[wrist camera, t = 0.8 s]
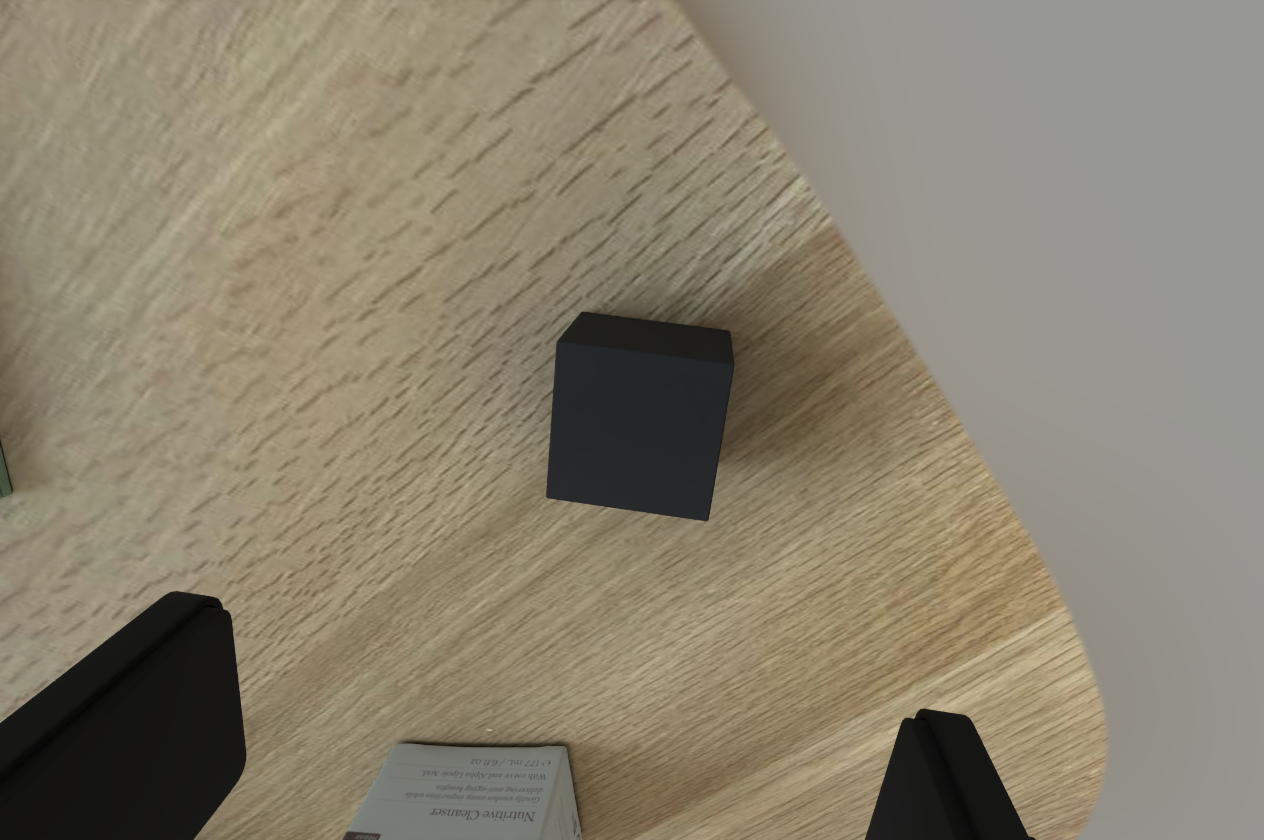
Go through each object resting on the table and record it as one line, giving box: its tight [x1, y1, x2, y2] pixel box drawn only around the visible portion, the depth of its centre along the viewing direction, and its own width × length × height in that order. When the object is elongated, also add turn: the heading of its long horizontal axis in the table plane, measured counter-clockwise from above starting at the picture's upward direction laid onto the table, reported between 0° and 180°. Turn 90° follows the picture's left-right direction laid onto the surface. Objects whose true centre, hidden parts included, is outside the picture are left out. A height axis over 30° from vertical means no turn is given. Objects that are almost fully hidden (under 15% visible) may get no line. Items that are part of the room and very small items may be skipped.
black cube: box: [546, 312, 734, 521], centre depth 22 cm, size 5×5×4 cm
